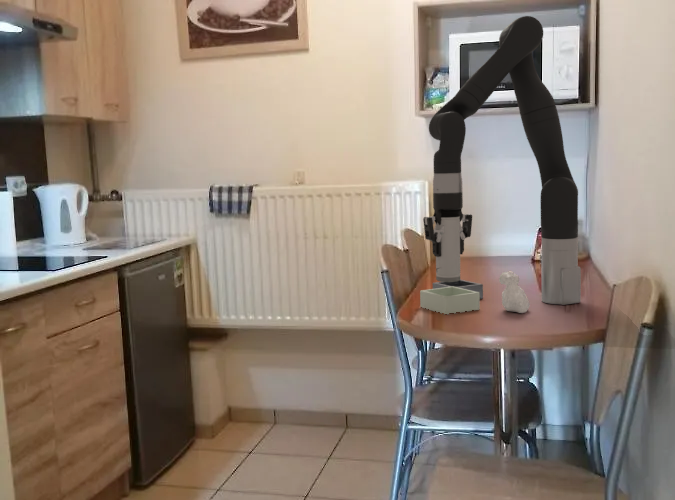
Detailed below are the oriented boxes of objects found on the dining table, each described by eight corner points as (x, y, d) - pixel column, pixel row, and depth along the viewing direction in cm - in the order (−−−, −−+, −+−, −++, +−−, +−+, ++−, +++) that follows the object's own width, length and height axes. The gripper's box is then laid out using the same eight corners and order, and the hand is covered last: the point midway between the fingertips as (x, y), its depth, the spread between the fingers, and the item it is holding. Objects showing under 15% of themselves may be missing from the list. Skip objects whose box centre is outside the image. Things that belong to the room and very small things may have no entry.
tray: (479, 309, 182) (479, 292, 182) (445, 314, 178) (445, 297, 177) (453, 302, 193) (452, 286, 192) (420, 307, 188) (420, 290, 188)
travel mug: (432, 281, 183) (431, 204, 181) (441, 277, 189) (440, 203, 186) (455, 282, 180) (454, 204, 178) (463, 278, 186) (462, 203, 183)
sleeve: (482, 298, 197) (482, 284, 196) (454, 302, 193) (454, 287, 192) (460, 292, 206) (460, 279, 206) (432, 296, 202) (432, 282, 202)
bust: (514, 314, 186) (487, 280, 186) (538, 297, 183) (510, 263, 184) (513, 324, 174) (484, 288, 175) (539, 306, 172) (509, 270, 173)
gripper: (432, 192, 175) (433, 259, 177) (479, 189, 181) (479, 254, 183) (416, 191, 182) (417, 256, 184) (461, 189, 188) (462, 251, 190)
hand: (448, 255), depth 184 cm, fingers closed on travel mug, 6 cm apart
